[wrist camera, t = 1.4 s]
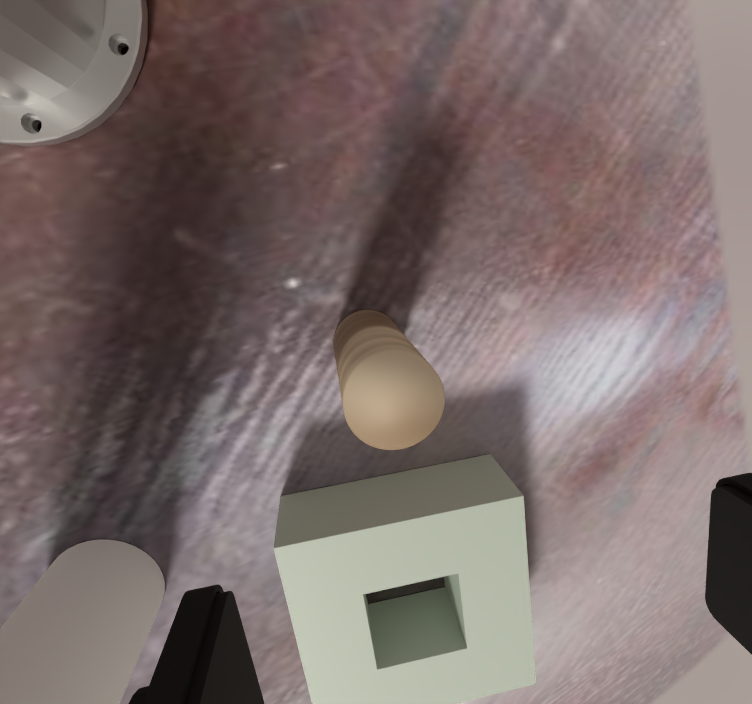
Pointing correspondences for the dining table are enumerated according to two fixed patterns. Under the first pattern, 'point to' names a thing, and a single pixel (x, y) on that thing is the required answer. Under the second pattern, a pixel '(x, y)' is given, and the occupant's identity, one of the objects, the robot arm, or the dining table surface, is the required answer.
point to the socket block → (407, 566)
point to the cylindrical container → (81, 627)
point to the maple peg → (385, 382)
